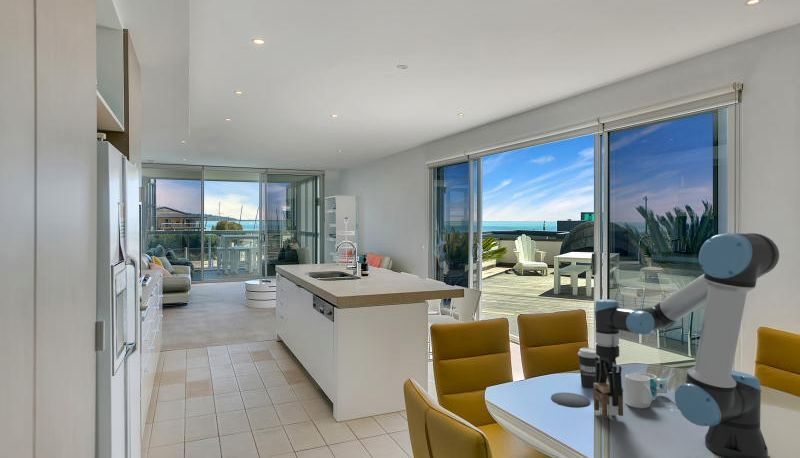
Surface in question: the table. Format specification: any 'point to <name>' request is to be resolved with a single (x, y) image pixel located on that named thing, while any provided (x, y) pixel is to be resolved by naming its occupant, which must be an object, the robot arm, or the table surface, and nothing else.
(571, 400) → the mat
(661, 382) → the mug
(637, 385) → the mug
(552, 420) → the table surface
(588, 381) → the coffee cup
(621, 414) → the stool
